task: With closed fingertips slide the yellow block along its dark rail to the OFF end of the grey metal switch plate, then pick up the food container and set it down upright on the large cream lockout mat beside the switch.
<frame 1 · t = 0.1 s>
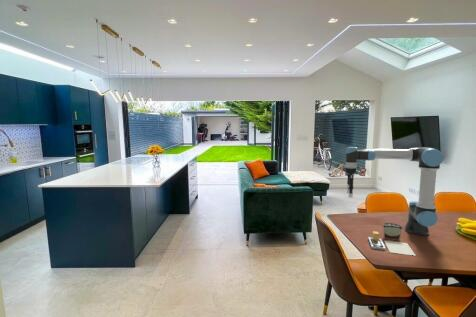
hand: (349, 195, 193), 28 cm above the table, fingers open, 13 cm apart
food container: (390, 237, 183), on the table
mat: (398, 247, 167), on the table
panel: (376, 244, 172), on the table
yellow block: (375, 236, 175), point 4 cm above the table, slide at 0.0 cm
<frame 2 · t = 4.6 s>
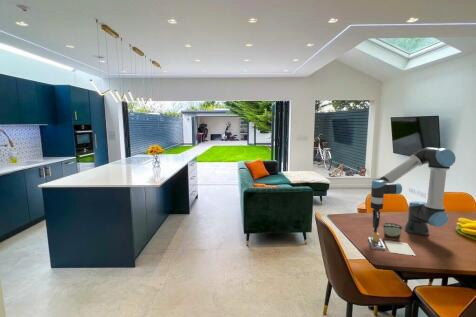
hand: (374, 235, 177), 4 cm above the table, fingers closed
yellow block: (375, 236, 174), point 4 cm above the table, slide at 1.1 cm, touching gripper
everything else where it was.
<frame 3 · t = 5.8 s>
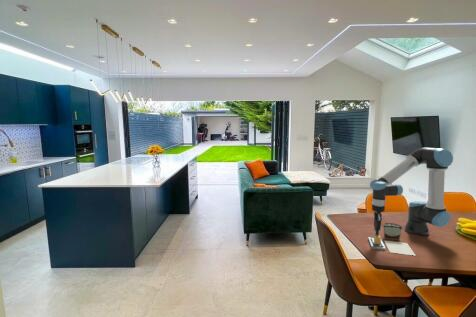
hand: (376, 238, 172), 4 cm above the table, fingers closed
yellow block: (377, 239, 169), point 4 cm above the table, slide at 6.1 cm, touching gripper
everything else where it was.
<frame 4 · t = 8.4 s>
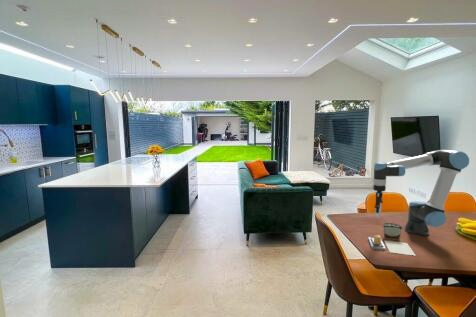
hand: (378, 214, 180), 18 cm above the table, fingers open, 13 cm apart
yellow block: (377, 239, 169), point 4 cm above the table, slide at 6.2 cm
everything else where it was.
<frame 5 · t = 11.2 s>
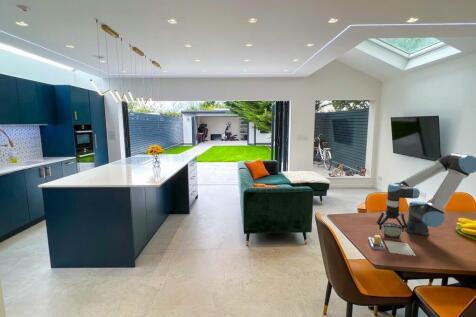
hand: (390, 235, 183), 2 cm above the table, fingers closed on food container, 11 cm apart
food container: (390, 237, 183), on the table, touching gripper
everything else where it was.
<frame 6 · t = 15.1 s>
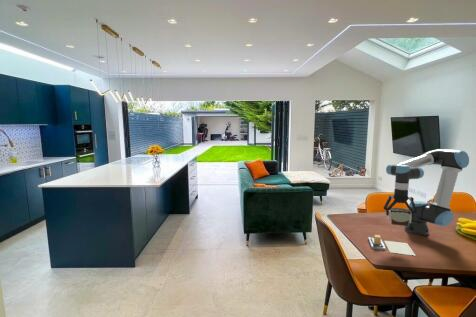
hand: (398, 221, 167), 17 cm above the table, fingers closed on food container, 11 cm apart
food container: (398, 224, 167), point 16 cm above the table, touching gripper
everything else where it was.
when the fingers open (3 cm above the table, at t = 19.3 s): food container stays where it is, resting on mat.
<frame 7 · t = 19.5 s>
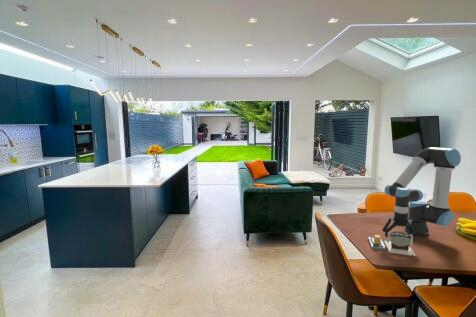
hand: (399, 243, 166), 3 cm above the table, fingers open, 13 cm apart
food container: (398, 247, 167), resting on mat
everything else where it was.
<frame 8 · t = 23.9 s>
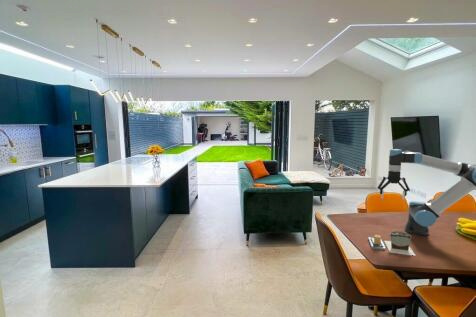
hand: (392, 199, 185), 27 cm above the table, fingers open, 13 cm apart
nothing on the table moved.
at the end: yellow block slide at 6.2 cm; food container inside the target area (0.2 cm from its centre), resting on mat; food container tilted 0° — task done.
